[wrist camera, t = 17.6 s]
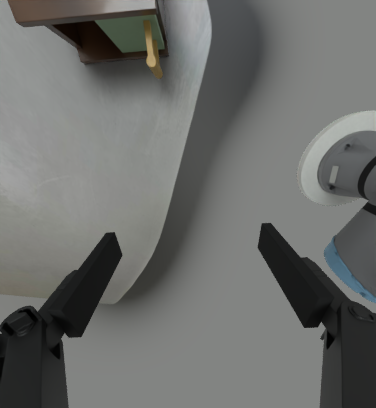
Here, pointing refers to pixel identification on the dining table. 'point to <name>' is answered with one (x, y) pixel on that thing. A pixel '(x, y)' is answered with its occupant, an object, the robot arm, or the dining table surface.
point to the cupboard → (89, 23)
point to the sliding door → (136, 37)
